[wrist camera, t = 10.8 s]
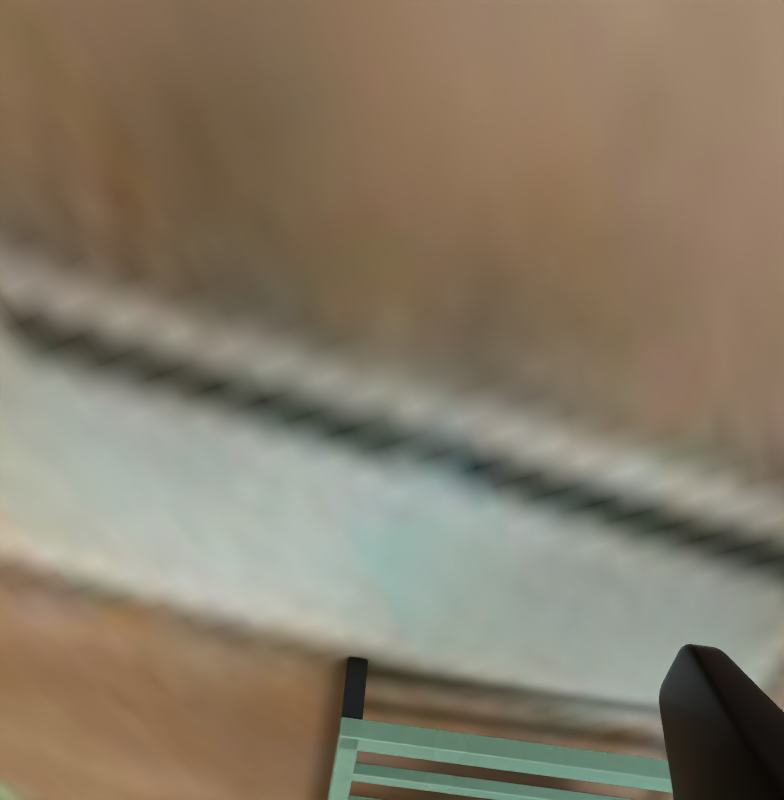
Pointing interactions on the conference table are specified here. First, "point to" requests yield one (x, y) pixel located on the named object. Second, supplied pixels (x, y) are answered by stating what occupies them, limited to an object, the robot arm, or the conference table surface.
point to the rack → (472, 758)
